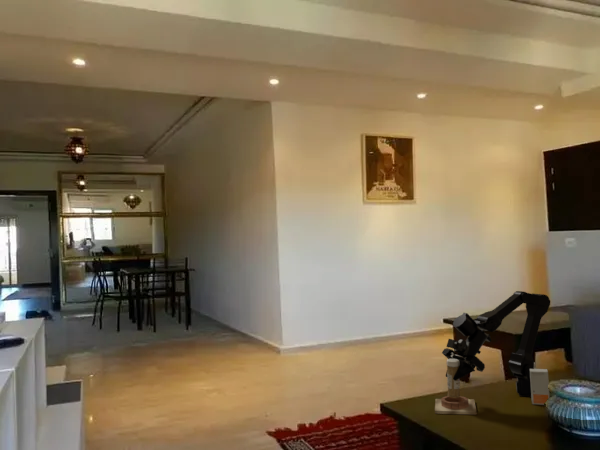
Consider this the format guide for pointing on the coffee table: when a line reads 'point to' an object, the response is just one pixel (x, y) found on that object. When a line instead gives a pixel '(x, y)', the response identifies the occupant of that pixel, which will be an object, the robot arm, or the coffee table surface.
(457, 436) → the coffee table surface
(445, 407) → the collar base
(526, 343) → the robot arm
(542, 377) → the skincare box
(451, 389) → the sprinkles bottle
